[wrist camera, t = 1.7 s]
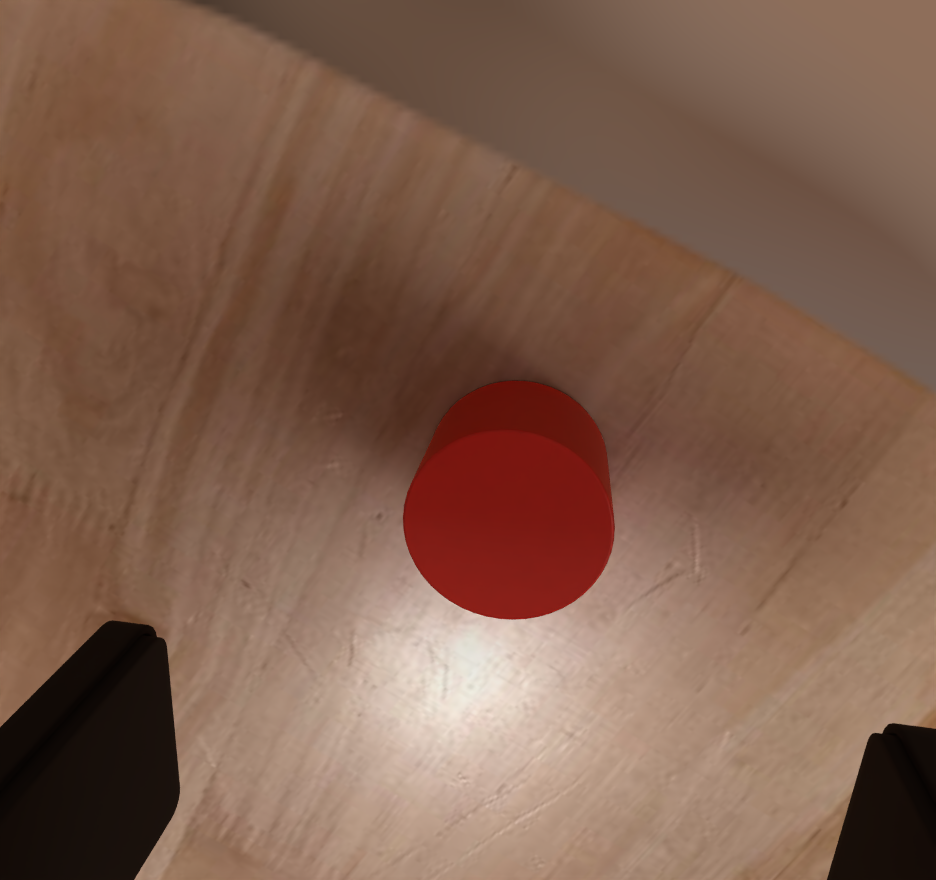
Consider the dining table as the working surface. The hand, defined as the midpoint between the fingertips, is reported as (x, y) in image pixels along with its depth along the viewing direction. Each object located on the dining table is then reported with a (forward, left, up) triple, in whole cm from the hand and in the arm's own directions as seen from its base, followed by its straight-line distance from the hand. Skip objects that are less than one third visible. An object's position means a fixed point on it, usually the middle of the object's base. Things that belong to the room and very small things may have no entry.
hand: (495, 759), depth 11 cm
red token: (0, 0, -10) cm, 10 cm away
